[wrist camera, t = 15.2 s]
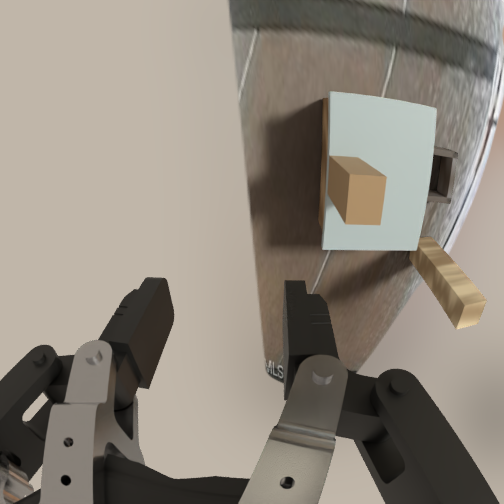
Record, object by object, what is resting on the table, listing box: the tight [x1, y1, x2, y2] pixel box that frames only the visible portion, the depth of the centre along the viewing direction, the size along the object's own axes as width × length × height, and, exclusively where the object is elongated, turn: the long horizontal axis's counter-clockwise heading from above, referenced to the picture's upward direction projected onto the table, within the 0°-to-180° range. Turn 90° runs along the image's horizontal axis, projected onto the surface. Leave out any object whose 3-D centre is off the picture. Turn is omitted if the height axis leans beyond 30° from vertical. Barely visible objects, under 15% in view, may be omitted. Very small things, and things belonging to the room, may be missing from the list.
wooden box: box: [318, 98, 458, 232], centre depth 31 cm, size 16×18×6 cm
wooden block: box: [409, 237, 487, 329], centre depth 32 cm, size 4×4×16 cm
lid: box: [321, 91, 437, 251], centre depth 24 cm, size 17×12×9 cm
